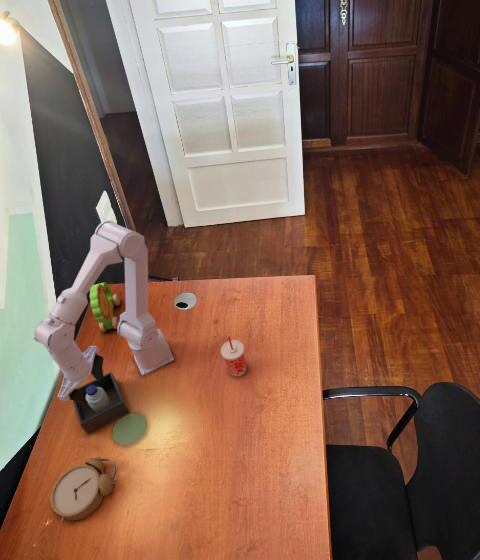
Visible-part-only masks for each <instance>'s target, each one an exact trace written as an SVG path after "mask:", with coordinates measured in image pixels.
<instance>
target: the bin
mask: <svg viewBox="0 0 480 560" xmlns="http://www.w3.org/2000/svg"><path fill="white" fill-rule="evenodd" d="M103 376H104V379H103V380H99V379H95V378H94V379H93V380H91V381H89V382H87V383H85V384H83V385H81V386H78V387H76V389H77V390H80V391H84V397H85V399H86V394H87V393H86V388H87V387H88V386H90V385H95V386H96V387H101V388H102V389H103V390H104V391H105V393H106V394H107V396H108V397H109V399H110V401H111V402H112V406H111V407H109V408H107V409H106V410H104V411H102V412H100V413H98V414H96V413H95V412H94V410H93V409H92V408H91V406H90V405H89V403H88V406H82V405H79V404H78V403H76V402H75V401H73V400H72V403H73V406H74V409H75V412H76V416H77V419H78V423H79V425H80V426H81V428H82V429H83V430H84V431H85V433H86V434H87V435H90V434H91V433H93V432H96V431H97V430H99V429H101V428H103V427H104V426H107V425H109V424H111V423H113V422H114V421H116V420H119V419H121V418H122V417H124V416H126V415H128V414H130V409H129V407H128V404H127V402H126V400H125V397H124V394H123V392H122V390H121V387H120V385H119V382H118V380H117V379H116V378H115V375H114V374H113V373H112V371H110V372H107V373H106V374H103Z"/></svg>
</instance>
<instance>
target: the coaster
mask: <svg viewBox="0 0 480 560" xmlns="http://www.w3.org/2000/svg"><path fill="white" fill-rule="evenodd" d="M147 426H148V422H147V419H146V418H145V416H143V415H142V414H140V413H135V412H134V413H127V414H126V415H124V416H122V417H120V418H119V419H118V421H116V423H115V424H114V426H113V429H112V439H113V441H114V442H115V443H116V444H118V445H120V446H129V445H132V444H135V443H137V442H138V441H139V440H140V439H142V437H143V436H144V434H146V432H147Z"/></svg>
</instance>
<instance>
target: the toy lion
mask: <svg viewBox="0 0 480 560" xmlns="http://www.w3.org/2000/svg"><path fill="white" fill-rule="evenodd" d="M89 299H90V307H91V310H92V314H93V316H94V318H95V320H96V322H97V323H98V326H99V330H100V332H101V333H105V332H107V331H108V330H112V329H114V330H117V328H118V325H119V322H120V319H118V316H114V307H115V306H116V307H117V306H120V305H121V299H120V296H119V294H118V293H114V294H113V291H112V289H111V288H110V286H109V284H108V283H107V282H101V283H97V284H93V286H92V287H91V289H90V290H89Z"/></svg>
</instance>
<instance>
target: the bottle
mask: <svg viewBox="0 0 480 560" xmlns="http://www.w3.org/2000/svg"><path fill="white" fill-rule="evenodd" d="M86 393H87V394H86V400H87V402H88V403H89V405H90V406H91V408H92V409H93V410H94V412H95V413H96V414H98V413H100V412H102V411H104V410H106V409H107V408H109V407H111V406H112V402H111V401H110V399H109V397H108V396H107V394H106V393H105V391H104V390H103V389H102V388H101V387H96V386H95V385H90V386H88V387H87V388H86Z"/></svg>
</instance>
